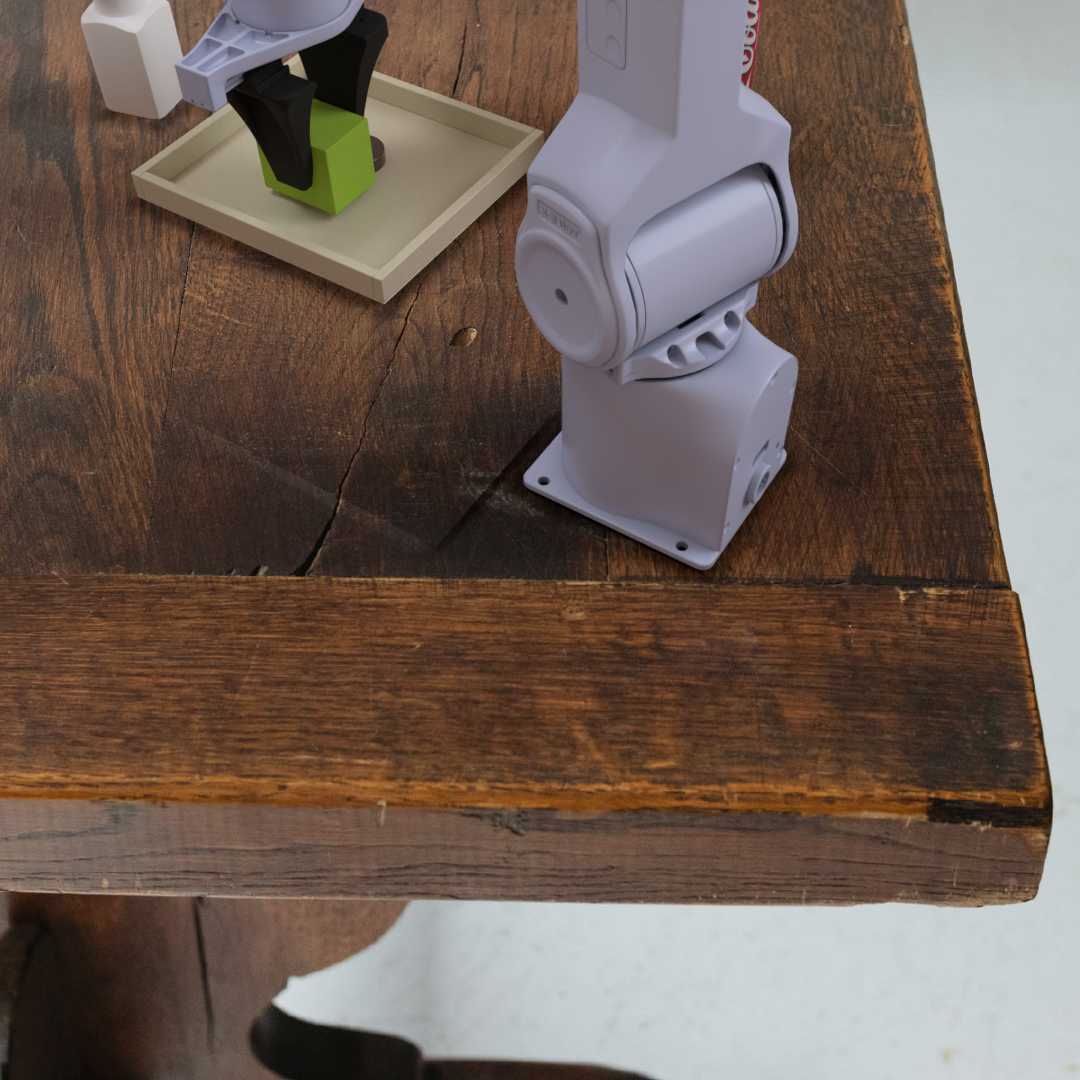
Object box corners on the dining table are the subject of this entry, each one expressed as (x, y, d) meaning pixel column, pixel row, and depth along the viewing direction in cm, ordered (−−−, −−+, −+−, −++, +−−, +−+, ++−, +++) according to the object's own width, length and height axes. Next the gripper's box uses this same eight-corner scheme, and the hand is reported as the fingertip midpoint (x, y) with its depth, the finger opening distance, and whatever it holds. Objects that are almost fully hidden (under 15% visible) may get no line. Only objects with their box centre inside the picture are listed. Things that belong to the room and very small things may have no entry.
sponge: (376, 181, 70) (368, 117, 66) (336, 216, 68) (325, 151, 65) (306, 154, 71) (294, 90, 68) (265, 186, 69) (251, 122, 66)
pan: (545, 161, 72) (544, 131, 70) (385, 311, 64) (381, 280, 63) (312, 76, 78) (306, 46, 76) (139, 203, 70) (130, 172, 69)
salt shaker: (139, 81, 78) (95, -73, 70) (196, 93, 77) (157, -62, 70) (104, 116, 76) (55, -40, 68) (162, 128, 75) (119, -28, 67)
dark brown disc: (396, 155, 72) (395, 143, 71) (365, 182, 70) (363, 170, 70) (354, 140, 73) (352, 128, 72) (322, 166, 71) (320, 154, 71)
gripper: (307, -168, 63) (343, 79, 74) (98, -48, 55) (172, 208, 66) (420, -136, 60) (441, 114, 71) (219, -6, 53) (276, 253, 63)
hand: (319, 163), depth 68 cm, fingers closed on sponge, 3 cm apart
